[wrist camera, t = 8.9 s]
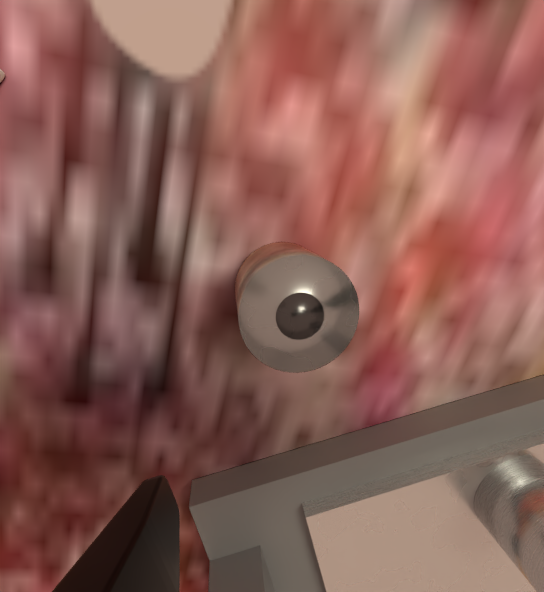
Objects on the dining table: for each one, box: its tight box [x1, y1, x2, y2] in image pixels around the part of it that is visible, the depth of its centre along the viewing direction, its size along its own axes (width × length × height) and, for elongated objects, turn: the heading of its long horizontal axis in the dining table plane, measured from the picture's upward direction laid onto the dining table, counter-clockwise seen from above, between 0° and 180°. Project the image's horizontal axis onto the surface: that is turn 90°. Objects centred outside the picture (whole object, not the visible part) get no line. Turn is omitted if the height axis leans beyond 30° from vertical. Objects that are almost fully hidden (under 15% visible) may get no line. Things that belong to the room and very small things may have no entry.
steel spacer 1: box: [235, 242, 359, 373], centre depth 17 cm, size 5×5×5 cm
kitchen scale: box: [189, 375, 544, 592], centre depth 22 cm, size 24×20×6 cm
